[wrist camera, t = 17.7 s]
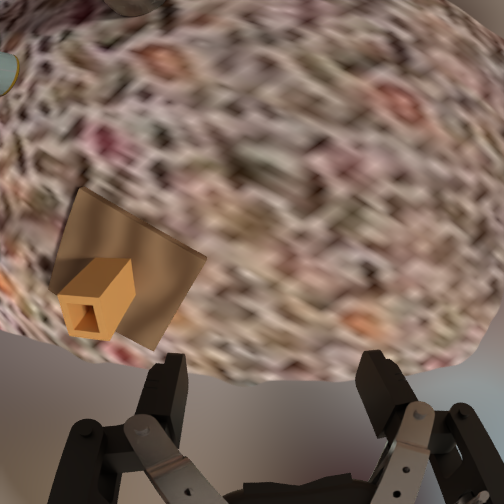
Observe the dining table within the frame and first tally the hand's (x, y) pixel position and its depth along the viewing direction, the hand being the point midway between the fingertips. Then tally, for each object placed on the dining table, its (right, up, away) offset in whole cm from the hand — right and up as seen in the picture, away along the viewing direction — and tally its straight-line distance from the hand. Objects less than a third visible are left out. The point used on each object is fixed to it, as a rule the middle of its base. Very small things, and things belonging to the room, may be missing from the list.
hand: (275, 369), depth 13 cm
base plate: (-20, +2, +28) cm, 35 cm away
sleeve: (-20, +2, +27) cm, 34 cm away
